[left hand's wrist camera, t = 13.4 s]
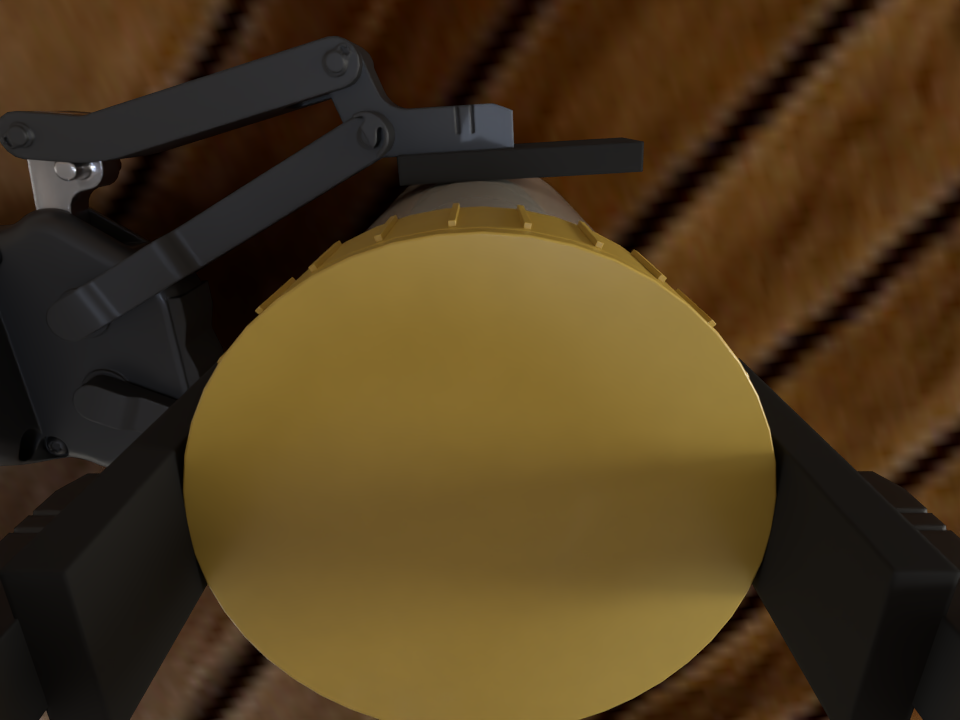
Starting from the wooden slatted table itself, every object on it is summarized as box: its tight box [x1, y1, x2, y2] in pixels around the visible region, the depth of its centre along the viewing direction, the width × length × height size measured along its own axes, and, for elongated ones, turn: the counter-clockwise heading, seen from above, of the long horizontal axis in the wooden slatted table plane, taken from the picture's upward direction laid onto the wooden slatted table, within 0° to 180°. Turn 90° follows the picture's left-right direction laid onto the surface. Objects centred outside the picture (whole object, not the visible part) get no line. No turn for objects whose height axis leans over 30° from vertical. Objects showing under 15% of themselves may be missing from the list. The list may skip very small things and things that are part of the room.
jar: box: [365, 178, 596, 233], centre depth 18 cm, size 9×9×16 cm
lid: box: [183, 203, 776, 720], centre depth 11 cm, size 9×9×2 cm
